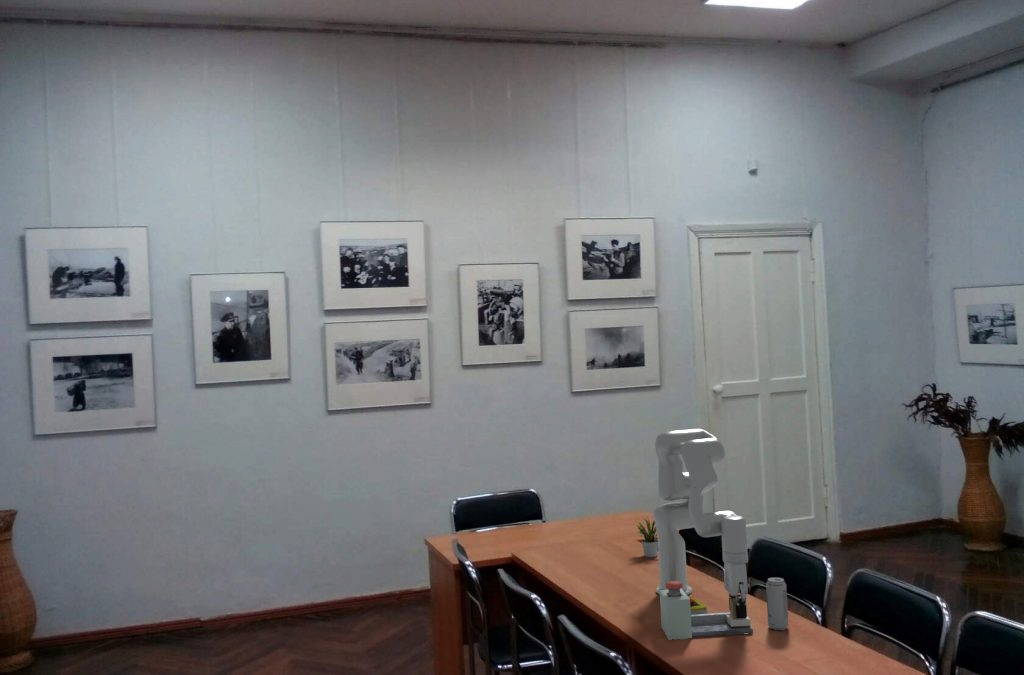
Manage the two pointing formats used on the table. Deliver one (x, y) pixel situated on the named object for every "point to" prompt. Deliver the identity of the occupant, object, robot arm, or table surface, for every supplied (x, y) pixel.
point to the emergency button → (697, 607)
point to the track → (715, 625)
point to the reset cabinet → (675, 615)
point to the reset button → (673, 588)
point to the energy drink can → (777, 603)
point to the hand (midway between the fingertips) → (738, 613)
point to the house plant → (649, 539)
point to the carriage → (732, 617)
